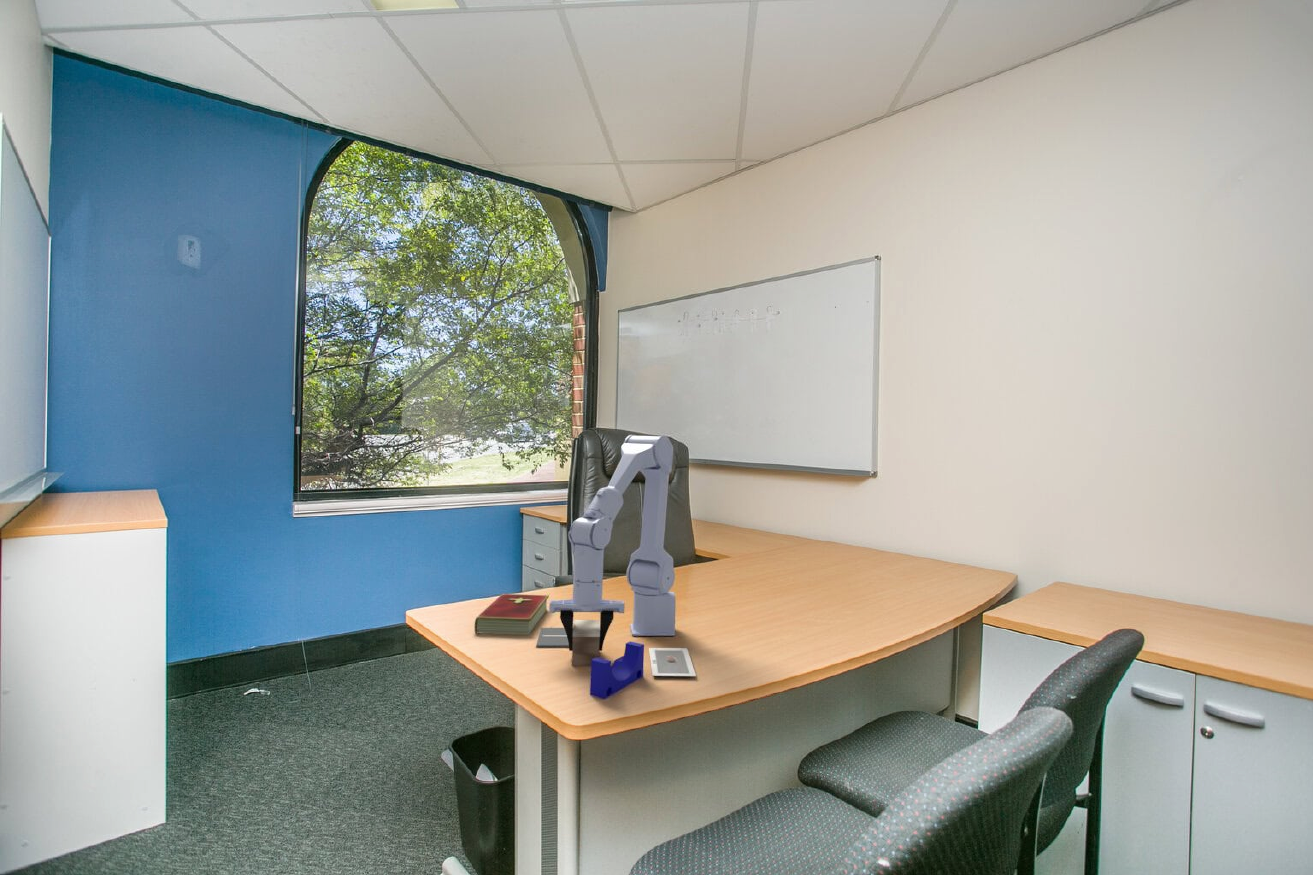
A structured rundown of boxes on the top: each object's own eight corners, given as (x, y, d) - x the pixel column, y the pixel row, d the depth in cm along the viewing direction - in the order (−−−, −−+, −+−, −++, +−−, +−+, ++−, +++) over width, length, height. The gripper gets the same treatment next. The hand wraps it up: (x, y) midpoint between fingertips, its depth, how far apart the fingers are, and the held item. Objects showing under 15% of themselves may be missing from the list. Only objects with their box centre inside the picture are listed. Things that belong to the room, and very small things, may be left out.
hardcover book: (474, 635, 135) (474, 615, 135) (500, 609, 156) (500, 592, 156) (529, 637, 135) (530, 617, 135) (548, 611, 156) (548, 594, 156)
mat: (595, 629, 140) (595, 627, 140) (595, 647, 128) (595, 644, 128) (540, 629, 139) (540, 627, 139) (536, 647, 127) (536, 644, 127)
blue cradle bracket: (622, 672, 116) (623, 639, 116) (642, 677, 113) (644, 644, 113) (582, 693, 105) (584, 657, 105) (604, 700, 103) (605, 663, 103)
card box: (598, 649, 127) (599, 619, 127) (598, 665, 118) (599, 633, 118) (572, 649, 126) (573, 619, 127) (571, 665, 117) (572, 633, 117)
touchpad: (686, 653, 128) (687, 643, 128) (695, 682, 113) (696, 669, 113) (648, 653, 127) (648, 642, 127) (652, 681, 112) (652, 669, 112)
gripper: (549, 583, 118) (546, 656, 117) (626, 584, 119) (623, 656, 119) (551, 575, 125) (549, 643, 125) (624, 576, 126) (622, 643, 126)
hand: (585, 649), depth 122 cm, fingers closed on card box, 5 cm apart
